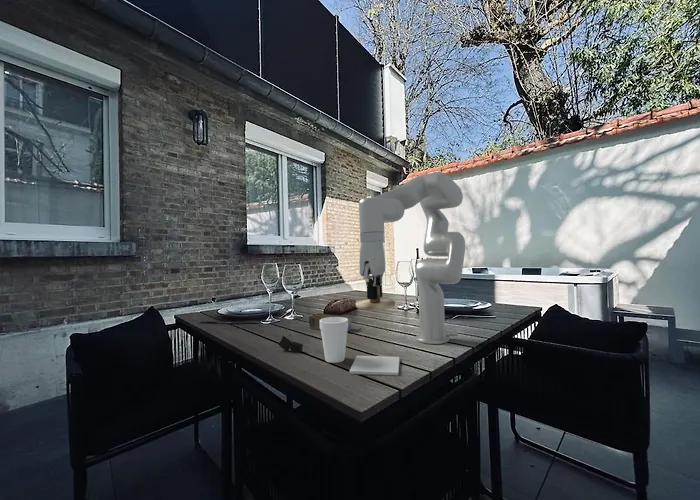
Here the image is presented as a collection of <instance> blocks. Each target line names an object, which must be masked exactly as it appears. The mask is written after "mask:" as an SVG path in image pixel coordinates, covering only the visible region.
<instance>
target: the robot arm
mask: <svg viewBox="0 0 700 500" xmlns="http://www.w3.org/2000/svg"><path fill="white" fill-rule="evenodd" d="M463 197H464V195H463V192H462V189H461V187H460V186H459V185H458V184H457V183H456V182H455V181H454V180H453V179H452V178H451V177H450V176H449V175H448V174H446V173H444V172H441V171H436V172H431V173H426V174H420V175H418V176H415V177H413V178H412V179H410V180H409V181H407V182H405V183H404V184H402V185H400V186H397V187H395V188H393V189H391V190H388V191H386V192H383V193H380V194H378V195H377V196H374V197H365V198H362V199H360V200H359V202H358V212H359V213H358V215H359V216H358V217H359V220H358V221H359V237H360V238H359V241H360V248H359V275H360V276H361V277H363V278H362V279H363V280H364V281H365V286H366V300H369V299H374V300H376V299H378V295H377V286H380V298H383V276H384V274H385V272H386V255H385V247H384V243H386V239H385V237H386V236H385V235H386V234H385V224H388V223H395V222H398V221H400V220H401V219H402V218H403V217H404V215H405V211H406V210H410V209H411V208H413V207H415V206H416V205H418V204H419V205H420V206H421V209H422V212H423V213H424V215H425V218H426V228H425V229H426V230H425V234H424V239H423V240H424V241H423V252H424V254H425V255H426V256H429V257H431V258H424V259H420V260H419V261H418V262H417V263H416V264H415V269H414V270H415V271H414V272H415V277H416V281H417V282H416V283H417V287H418V289H417V290H418V313H419V314H418V317H419V318H418V319H419V334H416V336H415V339H416V341H417V342H419V343H423V344H428V345H429V344H430V345H441V344H446V343H449V341H450V337H459V336H458V335H459V333H458V330H453V329H452V330H450V329H447V328H446V325H445V324H446V323H445V322H446V320H445V294H444V291H443V289H442V288H441V286H440V284H443V285H455V284H458V283H459V282H460V281H461V280H462V275H463V270H464V269H463V268H464V261H465V255H466V241H465V237H464V235H463V234H462V233H461V232H458V231H449V227H450V224H449V220H448V218H447V216H446V215H445V214H444V213H443V212H442V211H441V210H444V209H452V208H453V209H454V208H457V207H459V206H461V204H462V203H463V199H464V198H463ZM432 257H437V258H432ZM439 257H443V258H439ZM444 257H445V258H444Z"/></svg>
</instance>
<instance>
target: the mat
mask: <svg viewBox="0 0 700 500" xmlns="http://www.w3.org/2000/svg"><path fill="white" fill-rule="evenodd" d="M400 359H401V358H400V356H382V355H381V356H379V355H372V356H371V355H356V356H355V358H354V361H353V363H352V364H351V367H350V369H349V375H350V374H351V375H372V376H373V375H374V376H375V375H376V376H379V375H380V376H399V372H400V371H399V370H400Z"/></svg>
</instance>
